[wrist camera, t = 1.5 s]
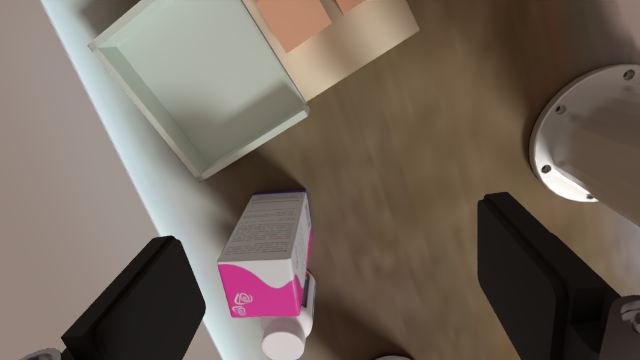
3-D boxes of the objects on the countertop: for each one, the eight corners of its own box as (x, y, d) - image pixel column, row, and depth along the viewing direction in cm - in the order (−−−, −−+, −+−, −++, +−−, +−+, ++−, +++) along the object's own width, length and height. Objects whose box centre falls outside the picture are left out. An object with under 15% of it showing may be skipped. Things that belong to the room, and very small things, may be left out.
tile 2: (303, -28, 25) (301, -32, 23) (332, 23, 26) (331, 22, 24) (260, 5, 26) (255, 3, 24) (289, 52, 27) (286, 53, 25)
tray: (215, -42, 27) (201, -51, 24) (310, 108, 31) (307, 115, 28) (110, 44, 30) (87, 45, 27) (210, 170, 34) (199, 182, 31)
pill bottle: (262, 272, 39) (243, 335, 31) (303, 257, 38) (294, 318, 30) (284, 305, 41) (271, 372, 33) (323, 291, 40) (320, 358, 32)
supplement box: (250, 192, 35) (214, 260, 24) (307, 188, 34) (295, 256, 24) (259, 239, 37) (230, 320, 27) (313, 236, 37) (304, 318, 26)
